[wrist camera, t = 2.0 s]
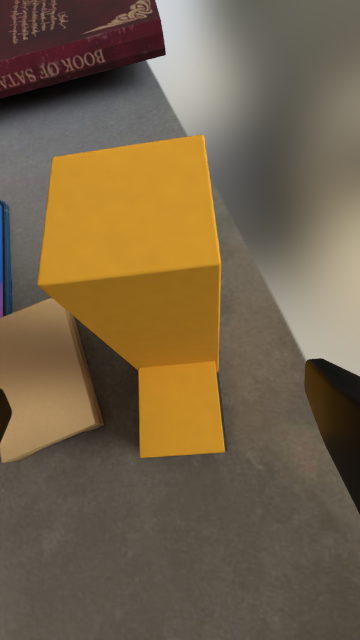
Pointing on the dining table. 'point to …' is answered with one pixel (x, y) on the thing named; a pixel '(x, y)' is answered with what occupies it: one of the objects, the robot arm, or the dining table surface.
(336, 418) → the robot arm
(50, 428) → the thin tan notched panel
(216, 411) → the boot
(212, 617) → the dining table surface
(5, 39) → the book
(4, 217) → the smartphone
